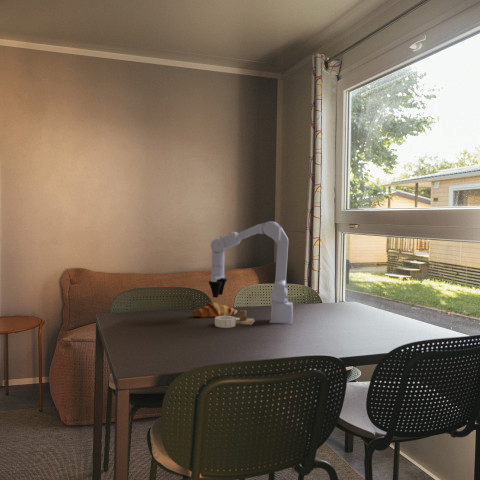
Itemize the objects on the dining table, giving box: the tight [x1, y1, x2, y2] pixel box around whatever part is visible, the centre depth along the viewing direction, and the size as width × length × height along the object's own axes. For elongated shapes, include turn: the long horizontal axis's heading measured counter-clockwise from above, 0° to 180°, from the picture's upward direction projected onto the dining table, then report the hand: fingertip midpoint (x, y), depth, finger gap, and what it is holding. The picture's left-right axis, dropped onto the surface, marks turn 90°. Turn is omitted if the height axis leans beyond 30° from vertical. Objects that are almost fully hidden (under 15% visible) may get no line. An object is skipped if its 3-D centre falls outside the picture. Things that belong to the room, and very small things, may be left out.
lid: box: [235, 309, 255, 325], centre depth 194 cm, size 8×8×5 cm
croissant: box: [192, 301, 238, 318], centre depth 207 cm, size 21×10×8 cm, turn 110°
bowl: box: [214, 315, 237, 329], centre depth 187 cm, size 8×8×4 cm
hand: (217, 296), depth 202 cm, fingers open, 7 cm apart
